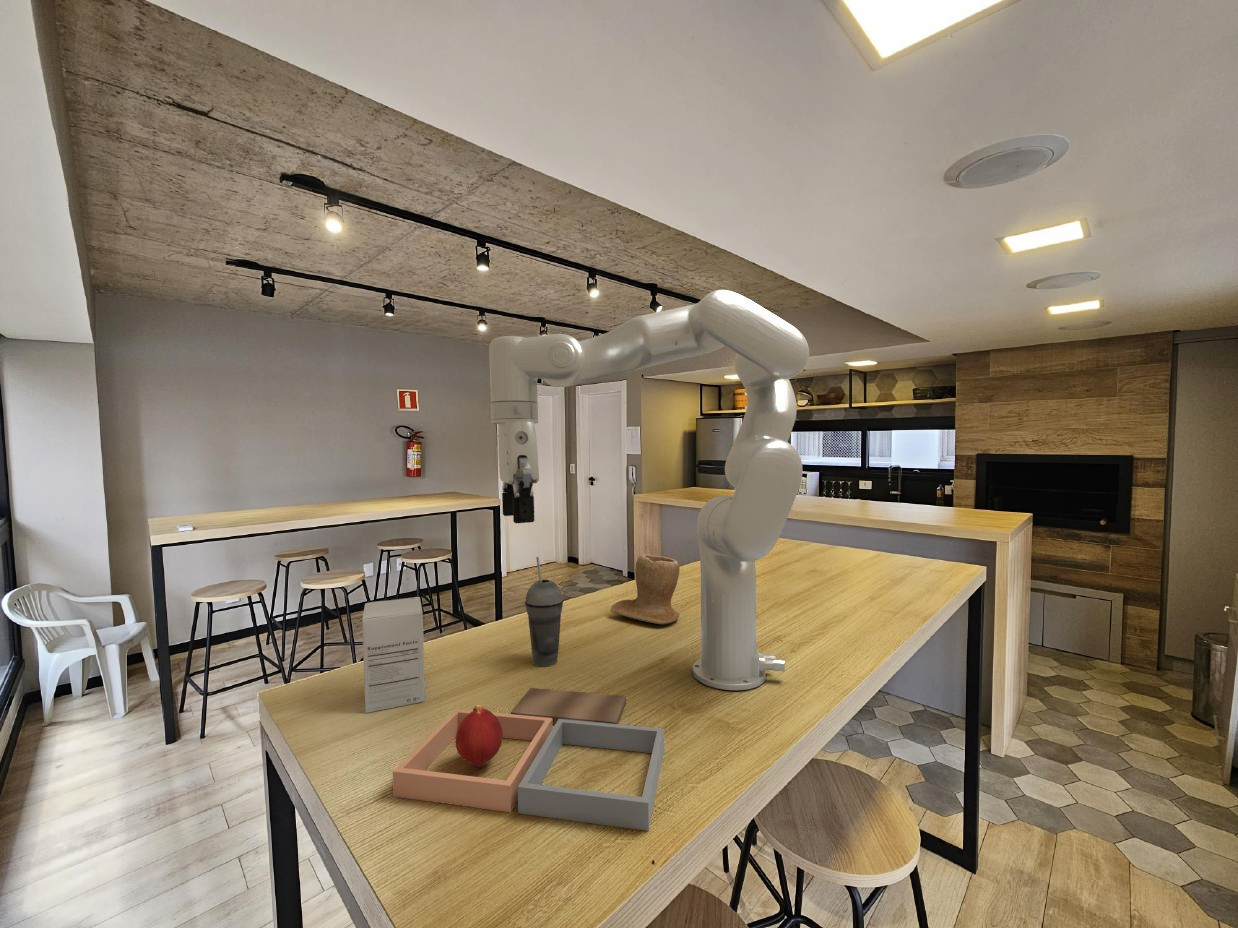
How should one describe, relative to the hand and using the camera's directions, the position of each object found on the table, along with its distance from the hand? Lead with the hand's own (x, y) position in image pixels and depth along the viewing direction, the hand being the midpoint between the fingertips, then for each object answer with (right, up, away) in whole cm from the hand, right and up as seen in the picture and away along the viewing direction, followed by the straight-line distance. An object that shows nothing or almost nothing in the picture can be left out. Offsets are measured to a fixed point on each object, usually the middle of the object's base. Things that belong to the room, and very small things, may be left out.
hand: (517, 518), depth 85 cm
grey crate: (+14, -30, -22) cm, 39 cm away
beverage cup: (+3, -29, +13) cm, 32 cm away
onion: (-1, -30, -19) cm, 35 cm away
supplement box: (-20, -30, 0) cm, 36 cm away
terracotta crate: (-1, -30, -19) cm, 35 cm away
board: (+9, -29, -6) cm, 31 cm away
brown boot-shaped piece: (+24, -28, +37) cm, 52 cm away
